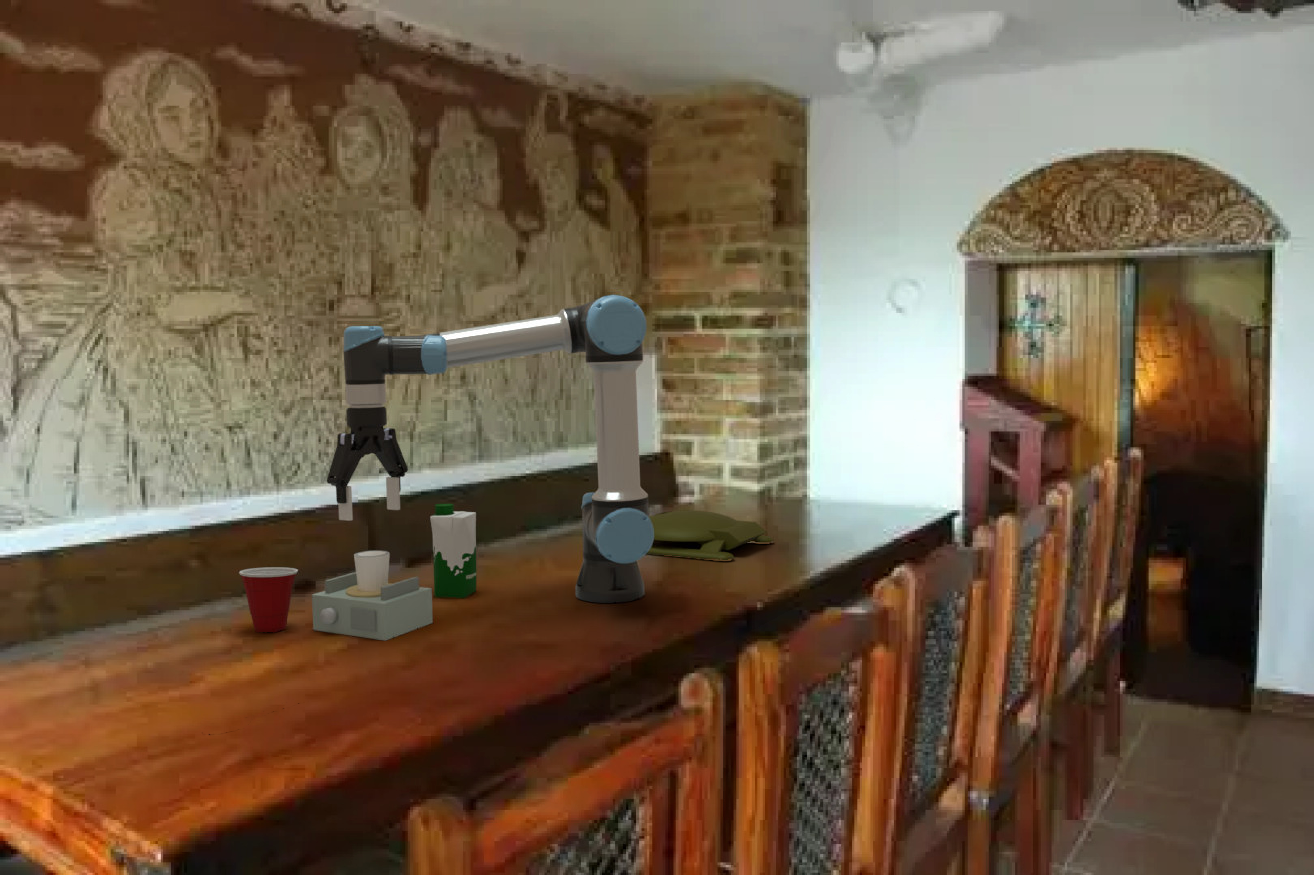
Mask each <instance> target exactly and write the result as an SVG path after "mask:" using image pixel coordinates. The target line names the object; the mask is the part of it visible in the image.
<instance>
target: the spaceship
mask: <svg viewBox="0 0 1314 875" xmlns="http://www.w3.org/2000/svg"><path fill="white" fill-rule="evenodd" d="M649 518H650V520H651V522H652V524H653V528H654V540H655V541H662V542H664V541H666V542H697V543H698V544H699V545H700V546H701V547H700V549H697V548H687V547H676V546H666V545H665V546H664V545H655V544H652V546H651V548H650V550H649V551H648V552H647V553H646V554H655V555H654V556H656V555H672V556H681V557H690V558H700V559H719V560H720V559H722V560H728V559H733V560H734V558H735V556H734V555H733V553H730V552H726V551H729V550H733V549H735V548H737V547H739V546H742V545H745V544H746V543H747V542H750V541H755V542H771V541H774V542H775V539H774V538H773V537H771V536H768V535H764V534H766V533H767V532H768V531H767V530H766V529H765V528H763V526H761V525H760V524H758V522H757V521H748V520H747V521H745V520H736V519H735V518H734V517H733V518H732V517H730V516H728V515H725V514H721V513H717V512H711V511H705V510H693V509H692V510H691V509H689V510H688V509H687V510H672V511H665V512H660V513H657V514H654V515H649ZM654 540H653V541H654ZM721 550H723V551H721Z"/></svg>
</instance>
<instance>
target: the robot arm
mask: <svg viewBox="0 0 1314 875" xmlns="http://www.w3.org/2000/svg"><path fill="white" fill-rule="evenodd" d="M646 334H647V318H646V316H645V314H644V311H643V310H642V308H641V307H640V306H639V305H638V304H637V303H636V301H634V300H632V299H631V298H630V297H626V296H623V295H620V294H619V295H616V294H611V295H604V296H602V297H599V298H596V299H594V300H591V301H589V302H585V303H584V304H581V305H576V306H572V307H567V308H561V309H560V310H559V312H558V313H557V314H553V315H546V316H540V317H534V318H527V319H519V320H513V321H508V322H501V323H494V324H489V325H488V324H487V325H482V326H481V325H480V326H473V327H468V328H462V329H456V330H449V331H448V330H447V331H441V332H436V333H434V332H433V333H429V334H422V335H400V336H399V335H398V336H392V335H385V332H384V329H383V327H382V326H379V325H372V326H370V325H367V326H366V325H363V326H362V325H360V326H359V325H356V326H353V325H351V326H348V327H347V328H345V329H344V331H343V349H342V350H343V366H344V367H343V368H344V369H343V370H344V379H345V381H344V385H345V400H346V401H345V404H346V405H347V406H349V407H347V408H346V410H345V414H346V415H345V416H346V417H345V418H346V425H347V426H348V428H350V430H349V431H350V432H349V433H344V432H343V433H338V434H337V443H336V449H335V452H334V455H333V458H332V461H331V465H330V468H329V472H328V475H327V478H326V483H327V484H329V485H331V486H332V487H333V486H334V487H335V494H336V503H337V504H338V520H339V521H348V522H349V521H353V520H354V518H353V516H354V515H353V497H352V496H353V495H352V494H353V493H352V492H353V491H352V485H349V483H350V481H351V479H352V477H353V475H354V473H355V472H356V469H357V468H358V466H359V463H360V462H361V459H363V458H364V457H365V456H366V455H371V454H373V455H375V456H376V458H377V459H378V461H379V463H380V465H382V466H383V468H384V470H385V471H386V473H387V474H388V476H385V481H386V482H385V483H386V484H385V485H386V509H387V510H391V511H399V510H400V511H401V489H402V488H401V487H402V486H401V478H404V477H405V475H406V473H407V472H408V470H409V469H408V468H409V467H408V465H407V464H406V463H407V462H406V460H405V458H404V455H403V453H402V450H401V447H400V445H399V442H398V439H397V432H396V429H395V428H393V427H392V428H389V427H387V428H386V427H385V426H387V423H388V419H387V418H388V416H387V408H386V406H384V405H385V404H386V403H387V392H386V388H387V387H386V375H390V376H393V375H394V376H395V375H429V376H431V375H437V374H438V375H439V374H444V373H445V372H447V370H448V369H449V368H456V367H457V368H458V367H462V366H470V365H475V364H482V363H487V362H494V361H500V360H507V359H513V358H520V357H528V356H533V355H539V354H540V355H541V354H547V353H552V352H553V353H554V352H559V351H564V352H565V353H567V354H569V355H570V354H576V353H585V364H586V366H587V367H589V369H591V370H592V372H593V381H594V382H593V384H594V386H593V388H594V405H595V406H594V411H595V432H596V452H597V453H596V454H597V455H596V456H597V459H596V460H597V478H598V479H597V480H598V481H597V482H598V483H597V485H598V488H597V490H596V491H595V492H594V491H593V492H586V493H584V494H583V496H582V501H581V502H582V504H581V506H580V507H581V510H582V511H581V512H582V515H581V516H582V564H581V566H580V570H579V574H578V578H577V580H576V584H575V597H576V598H577V599H579V600H581V601H585V602H590V603H602V604H603V603H605V604H606V603H607V604H611V603H614V602H616V603H626V602H631V601H636V600H638V599H637V598H639V599H641V598H643V597H644V596H645V583H644V580H643V577H642V576H643V575H642V573H641V571H640V568H639V565H638V561H639V560H640V559H642V558H644V557H645V556H647V555H646V553H647V552H648V551H649V550H650V548H651V546H652V545H653V543H654V528H653V524H652V522H651V520H650V518H649V517H650V513H649V511H650V510H649V494H648V493H647V492H646V491H645V490H644V489H643V488H642V487H641V472H640V471H641V470H640V449H639V448H640V447H639V444H640V443H639V423H638V422H639V421H638V418H639V417H638V415H639V414H638V394H637V392H638V391H637V388H638V387H637V370H638V368H639V367H640V366H641V365H642V363H644V355H643V354H644V353H643V352H644V350H643V342H644V340H645V336H646ZM384 427H385V428H384ZM643 595H644V596H643ZM642 596H643V597H642ZM635 599H636V600H635ZM614 604H615V603H614Z"/></svg>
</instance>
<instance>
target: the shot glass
mask: <svg viewBox="0 0 1314 875" xmlns="http://www.w3.org/2000/svg"><path fill="white" fill-rule="evenodd" d="M390 555H391V554H390V552H389V551H387V550H365V551H360V552H356V553H354V554H353V558H354V567H355V572H356V575H357V583H358V590H360V591H364V592H373V591H381V587H383V586H386V585H388V583H389V570H390V568H389V567H390Z"/></svg>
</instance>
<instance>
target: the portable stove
mask: <svg viewBox="0 0 1314 875" xmlns="http://www.w3.org/2000/svg"><path fill="white" fill-rule="evenodd" d="M432 590H433V589H432V587H431V588H430V587H423V586H420V577H419V576H413V577H409V578H406V579H403V580H400V581H397V582H396V581H395V582H393V583H391V582H388V585H386V586H383V587H381V591H373V592H364V591H360V590H358V583H357V575H356V571H355V572H351V573H347V574H344V575H340V576H336V577H333V578H330V579H325V580H324V590H323V591H319V592H316V593H313V594H312V593H311V606H312V609H311V610H312V629H313V631H319V632H325V633H331V634H339V635H345V636H346V635H347V636H351V637H352V636H353V637H358V638H366V639H372V640H379V641H388V640H390V639H393V637H394V638H397V637H399V636H400V635H401V636H402V635H404V634H407V633H409V632H412V631H415V630H418V629H420V628H423V627H426V626H428V625H430V624H433V591H432ZM417 628H418V629H417Z"/></svg>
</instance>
